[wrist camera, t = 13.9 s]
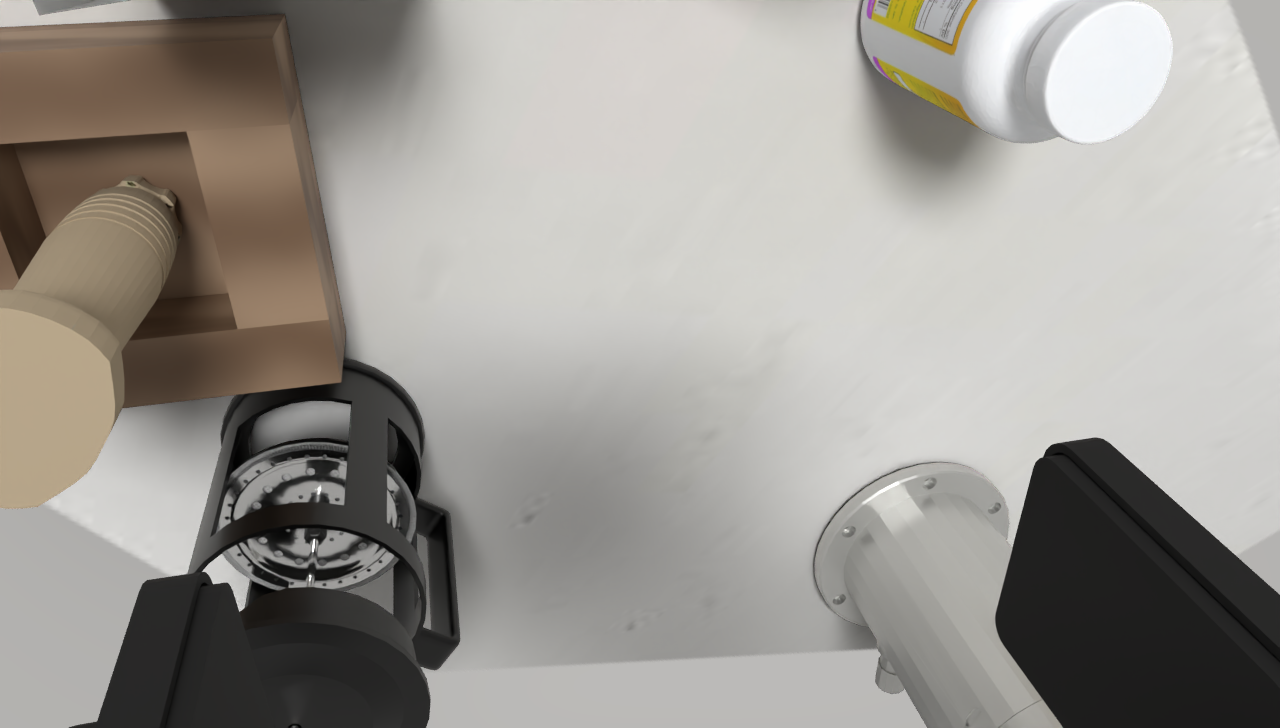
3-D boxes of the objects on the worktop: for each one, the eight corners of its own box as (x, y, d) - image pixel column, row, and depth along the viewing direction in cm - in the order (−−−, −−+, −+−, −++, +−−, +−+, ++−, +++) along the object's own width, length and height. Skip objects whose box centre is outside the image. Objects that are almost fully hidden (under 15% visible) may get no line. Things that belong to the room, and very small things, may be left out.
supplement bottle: (992, 63, 44) (1188, 147, 33) (859, 99, 43) (1014, 197, 32) (994, -92, 40) (1215, -54, 29) (849, -55, 40) (1019, -2, 29)
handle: (235, 174, 38) (148, 358, 25) (170, 300, 40) (59, 529, 27) (109, 111, 36) (-56, 277, 23) (47, 248, 38) (-135, 469, 25)
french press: (172, 464, 45) (5, 963, 26) (267, 314, 42) (160, 746, 23) (392, 549, 50) (391, 1013, 31) (488, 421, 48) (553, 842, 28)
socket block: (345, 331, 43) (341, 382, 40) (12, 368, 41) (-27, 425, 37) (284, 14, 36) (272, 38, 32) (-125, 33, 34) (-190, 62, 30)
